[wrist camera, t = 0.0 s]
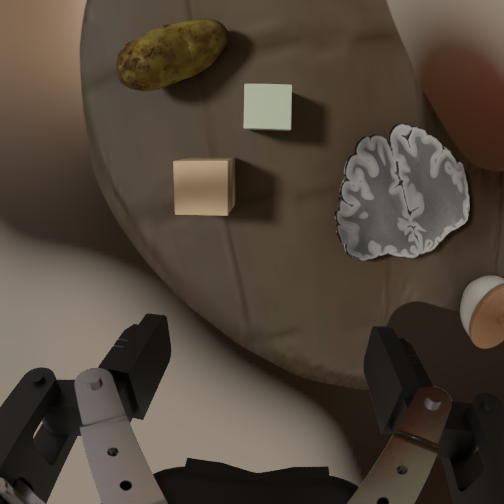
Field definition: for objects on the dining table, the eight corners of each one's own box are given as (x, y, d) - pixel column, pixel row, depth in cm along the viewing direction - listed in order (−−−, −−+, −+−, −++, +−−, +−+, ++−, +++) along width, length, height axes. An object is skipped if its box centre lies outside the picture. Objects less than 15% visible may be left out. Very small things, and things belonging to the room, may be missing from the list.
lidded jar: (459, 263, 40) (491, 291, 31) (505, 265, 39) (538, 290, 30) (442, 324, 44) (466, 358, 35) (487, 321, 43) (513, 351, 34)
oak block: (188, 157, 38) (173, 161, 33) (235, 157, 38) (227, 160, 32) (189, 203, 40) (175, 214, 35) (235, 204, 40) (227, 215, 34)
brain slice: (437, 110, 33) (447, 109, 30) (465, 225, 38) (476, 231, 35) (305, 154, 37) (307, 155, 34) (348, 272, 42) (352, 282, 39)
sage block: (248, 90, 35) (244, 83, 30) (290, 91, 34) (291, 84, 30) (248, 129, 36) (243, 128, 32) (289, 131, 36) (290, 129, 31)
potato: (235, 81, 34) (225, 68, 27) (139, 100, 36) (109, 94, 28) (229, 24, 32) (217, 0, 24) (135, 45, 33) (106, 30, 26)
